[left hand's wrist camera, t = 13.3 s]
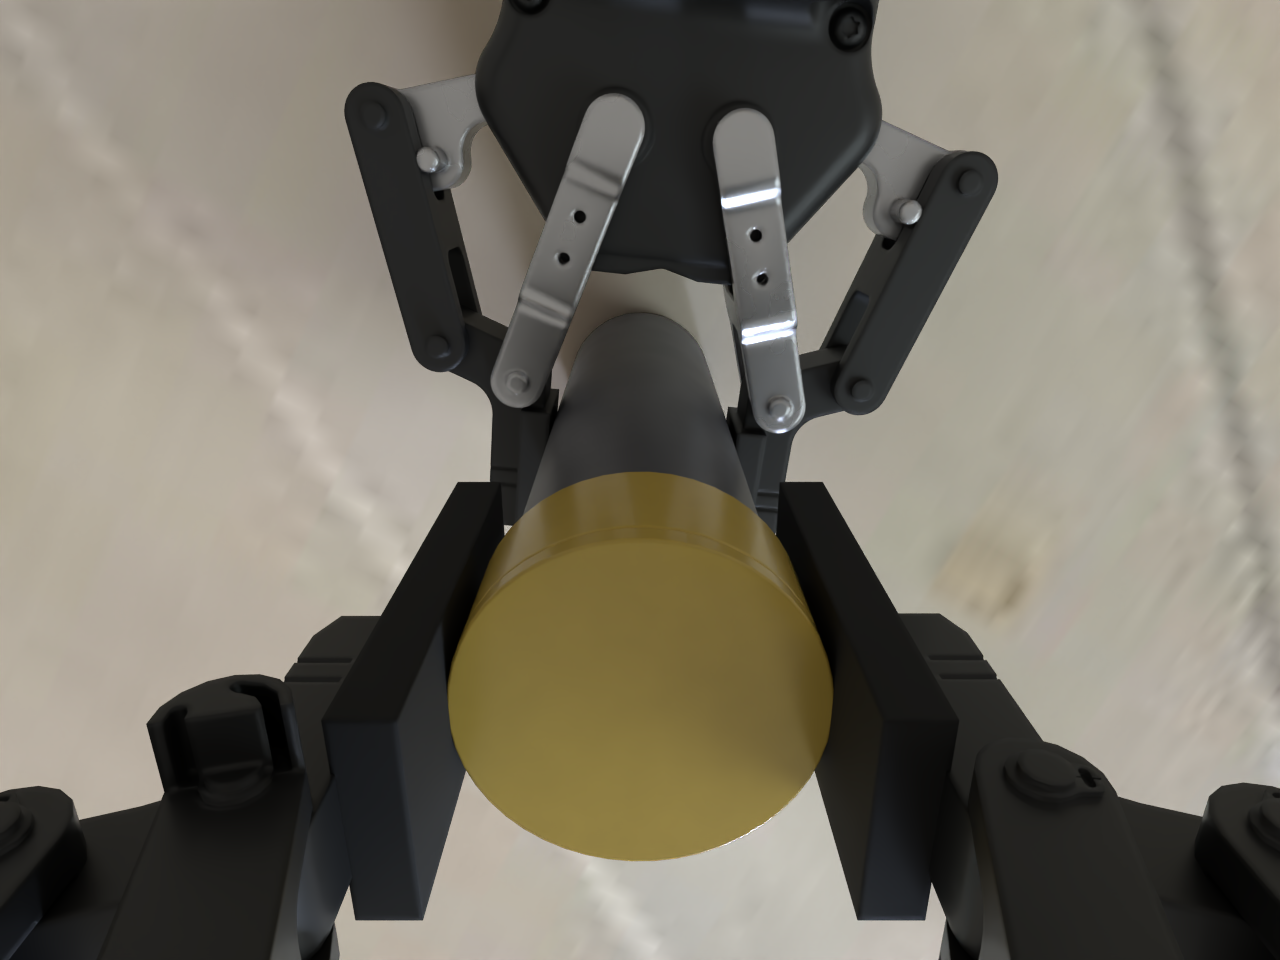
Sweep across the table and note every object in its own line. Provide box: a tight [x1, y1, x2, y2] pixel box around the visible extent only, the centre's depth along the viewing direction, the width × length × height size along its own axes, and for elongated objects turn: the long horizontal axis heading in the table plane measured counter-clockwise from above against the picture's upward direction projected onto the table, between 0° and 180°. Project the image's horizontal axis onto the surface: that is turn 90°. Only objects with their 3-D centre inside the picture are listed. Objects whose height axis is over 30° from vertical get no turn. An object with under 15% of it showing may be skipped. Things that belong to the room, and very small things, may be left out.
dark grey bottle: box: [523, 313, 758, 516], centre depth 18 cm, size 4×4×17 cm
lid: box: [447, 472, 834, 861], centre depth 11 cm, size 5×5×2 cm
